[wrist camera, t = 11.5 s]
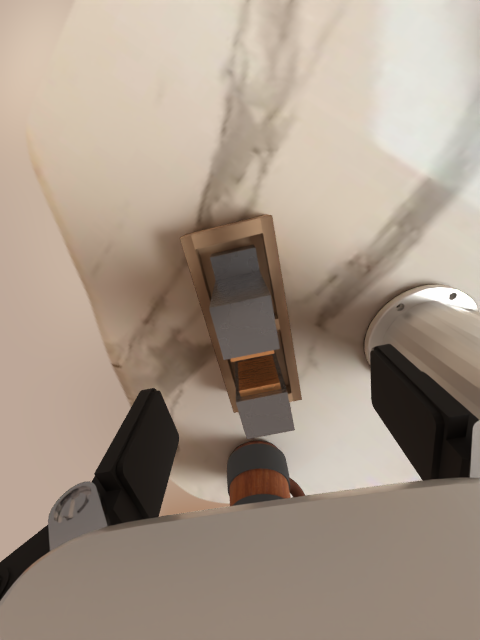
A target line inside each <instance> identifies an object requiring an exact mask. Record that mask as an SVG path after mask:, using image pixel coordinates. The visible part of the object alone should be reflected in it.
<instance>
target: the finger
mask: <svg viewBox="0 0 480 640" xmlns="http://www.w3.org/2000/svg"><path fill="white" fill-rule="evenodd" d="M210 260H211V264H212V268H213V272H214V276H215V285H214V289H213V293H212V298H211V302H210V307H209V310H210V313H211V317H212V320H213V324H214V327H215V331H216V334H217V338H218V341H219V345H220V348H221V352H222V355H223V359H224V360H226V359H231V362H234V361H239V360H244V359H249V358H254V357H259V356H264V355H269V354H274V350H277V349H280V346H279V341H278V335H277V329H276V323H275V317H274V312H273V306H272V300H271V295H270V293H269V290H268V288H267V286H266V284H265V281H264V279H263V277H262V275H261V272H260V270H259V264H258V259H257V253H256V248H255V246H254V244H253V245H249V246H244V247H240V248H235V249H231V250H226V251H222V252H218V253H213V254H211V256H210Z"/></svg>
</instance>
